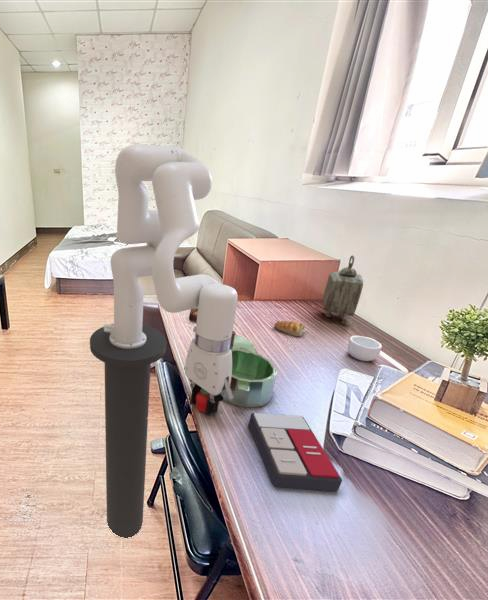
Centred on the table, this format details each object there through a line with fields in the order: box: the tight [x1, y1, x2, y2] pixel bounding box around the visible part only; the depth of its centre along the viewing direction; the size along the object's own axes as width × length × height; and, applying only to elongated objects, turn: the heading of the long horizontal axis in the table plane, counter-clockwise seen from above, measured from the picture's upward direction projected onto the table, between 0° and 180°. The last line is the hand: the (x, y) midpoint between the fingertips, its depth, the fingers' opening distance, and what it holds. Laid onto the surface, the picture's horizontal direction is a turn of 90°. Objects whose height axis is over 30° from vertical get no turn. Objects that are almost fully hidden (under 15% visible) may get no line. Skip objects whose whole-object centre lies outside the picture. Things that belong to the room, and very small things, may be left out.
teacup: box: [347, 335, 383, 362], centre depth 95 cm, size 10×8×5 cm
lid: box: [230, 330, 256, 353], centre depth 100 cm, size 16×16×6 cm
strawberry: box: [195, 388, 210, 413], centre depth 74 cm, size 4×4×5 cm
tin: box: [222, 347, 278, 408], centre depth 80 cm, size 15×20×8 cm
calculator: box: [248, 412, 343, 493], centre depth 61 cm, size 11×4×15 cm
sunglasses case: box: [188, 308, 198, 324], centre depth 124 cm, size 18×7×7 cm
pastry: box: [274, 320, 306, 337], centre depth 111 cm, size 9×7×4 cm
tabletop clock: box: [322, 255, 364, 326], centre depth 116 cm, size 14×9×25 cm, turn 150°
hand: (203, 406), depth 75 cm, fingers closed on strawberry, 4 cm apart
